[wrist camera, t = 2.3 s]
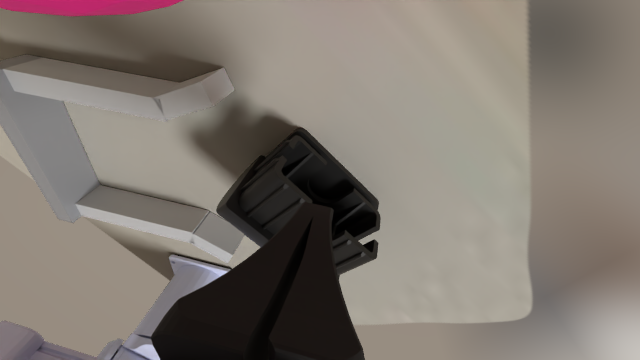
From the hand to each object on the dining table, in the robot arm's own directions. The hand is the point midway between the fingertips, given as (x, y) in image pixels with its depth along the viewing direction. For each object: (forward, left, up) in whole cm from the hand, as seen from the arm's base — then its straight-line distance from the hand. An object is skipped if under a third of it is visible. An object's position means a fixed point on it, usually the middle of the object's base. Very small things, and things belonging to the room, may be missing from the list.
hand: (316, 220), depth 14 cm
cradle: (-6, +17, -9) cm, 20 cm away
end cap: (-6, +2, -10) cm, 12 cm away
